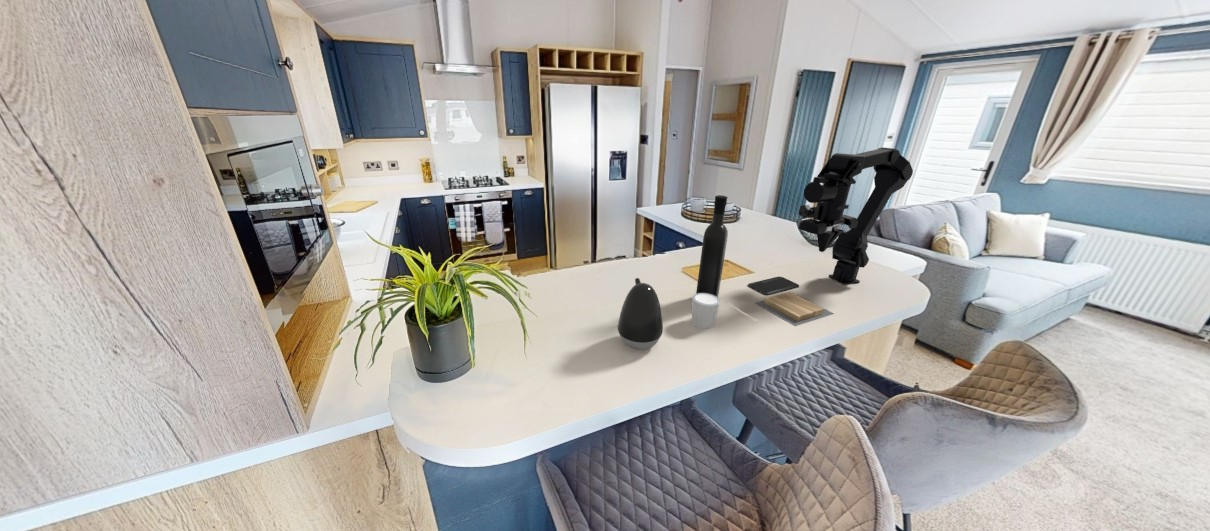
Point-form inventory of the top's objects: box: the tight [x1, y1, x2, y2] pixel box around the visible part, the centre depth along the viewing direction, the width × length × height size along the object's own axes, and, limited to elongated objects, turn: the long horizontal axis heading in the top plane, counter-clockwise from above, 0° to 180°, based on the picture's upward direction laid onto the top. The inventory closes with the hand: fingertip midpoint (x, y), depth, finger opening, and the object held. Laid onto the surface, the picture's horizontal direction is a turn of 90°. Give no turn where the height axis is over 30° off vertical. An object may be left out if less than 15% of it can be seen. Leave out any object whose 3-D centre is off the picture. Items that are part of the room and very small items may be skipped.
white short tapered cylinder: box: [691, 293, 721, 330], centre depth 97 cm, size 7×7×7 cm
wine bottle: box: [695, 195, 729, 298], centre depth 104 cm, size 6×6×30 cm
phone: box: [747, 276, 800, 296], centre depth 120 cm, size 8×1×15 cm
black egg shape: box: [617, 277, 664, 351], centre depth 87 cm, size 10×10×15 cm
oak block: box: [764, 291, 825, 322], centre depth 106 cm, size 2×11×10 cm
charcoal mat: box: [754, 299, 835, 327], centre depth 107 cm, size 16×14×1 cm
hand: (821, 251), depth 115 cm, fingers closed
